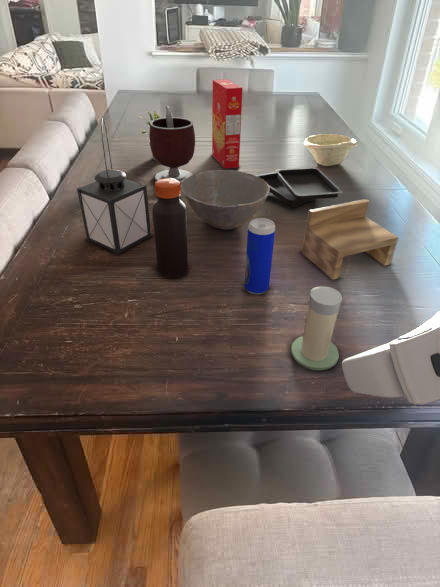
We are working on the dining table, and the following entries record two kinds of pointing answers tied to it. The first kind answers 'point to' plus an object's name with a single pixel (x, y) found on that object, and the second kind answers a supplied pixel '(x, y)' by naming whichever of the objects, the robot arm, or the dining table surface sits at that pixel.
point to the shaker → (320, 322)
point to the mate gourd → (172, 145)
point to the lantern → (114, 209)
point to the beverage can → (259, 255)
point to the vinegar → (170, 229)
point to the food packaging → (226, 122)
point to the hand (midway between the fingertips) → (381, 351)
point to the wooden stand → (345, 236)
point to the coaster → (311, 364)
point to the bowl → (329, 148)
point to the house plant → (149, 124)
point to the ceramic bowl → (225, 196)
